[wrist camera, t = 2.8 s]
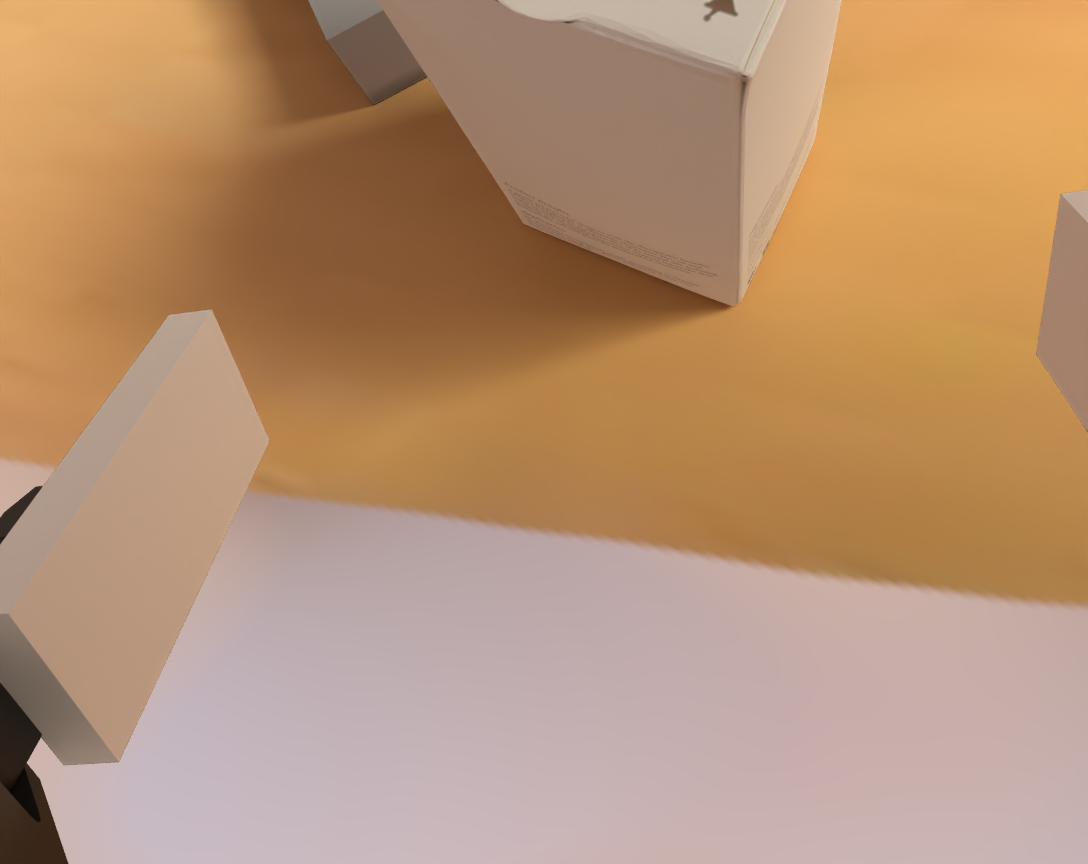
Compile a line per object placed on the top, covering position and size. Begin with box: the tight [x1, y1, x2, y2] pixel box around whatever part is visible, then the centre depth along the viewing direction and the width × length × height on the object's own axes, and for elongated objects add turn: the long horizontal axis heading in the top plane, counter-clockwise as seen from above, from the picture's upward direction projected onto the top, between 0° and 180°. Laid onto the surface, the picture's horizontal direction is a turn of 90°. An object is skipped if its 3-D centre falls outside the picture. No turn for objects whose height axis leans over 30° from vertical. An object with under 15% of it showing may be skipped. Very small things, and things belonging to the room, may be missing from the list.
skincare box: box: [377, 0, 842, 306], centre depth 24 cm, size 8×7×16 cm
